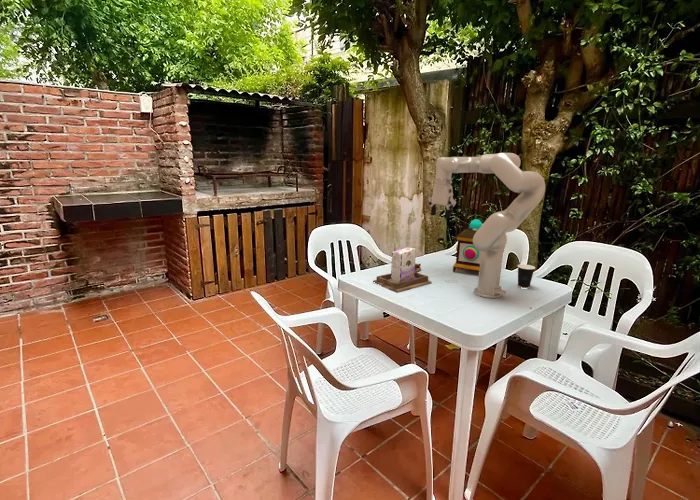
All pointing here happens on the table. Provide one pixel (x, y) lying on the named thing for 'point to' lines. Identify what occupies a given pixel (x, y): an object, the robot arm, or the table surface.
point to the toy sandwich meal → (417, 267)
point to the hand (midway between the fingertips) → (440, 216)
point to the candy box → (403, 265)
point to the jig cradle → (402, 286)
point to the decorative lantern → (468, 249)
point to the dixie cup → (525, 275)
